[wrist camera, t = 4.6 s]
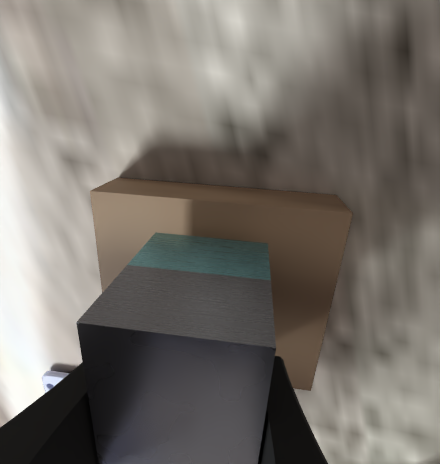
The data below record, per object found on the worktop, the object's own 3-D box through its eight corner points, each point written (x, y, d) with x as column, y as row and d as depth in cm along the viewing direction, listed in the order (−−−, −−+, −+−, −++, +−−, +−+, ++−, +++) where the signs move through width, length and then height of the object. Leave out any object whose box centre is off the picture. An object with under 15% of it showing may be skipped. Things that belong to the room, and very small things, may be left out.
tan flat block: (303, 351, 16) (310, 390, 14) (130, 329, 17) (110, 363, 15) (336, 195, 13) (353, 213, 11) (117, 177, 14) (90, 190, 12)
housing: (251, 372, 12) (248, 524, 8) (159, 360, 13) (103, 498, 8) (267, 243, 10) (276, 347, 6) (155, 232, 11) (76, 322, 6)
